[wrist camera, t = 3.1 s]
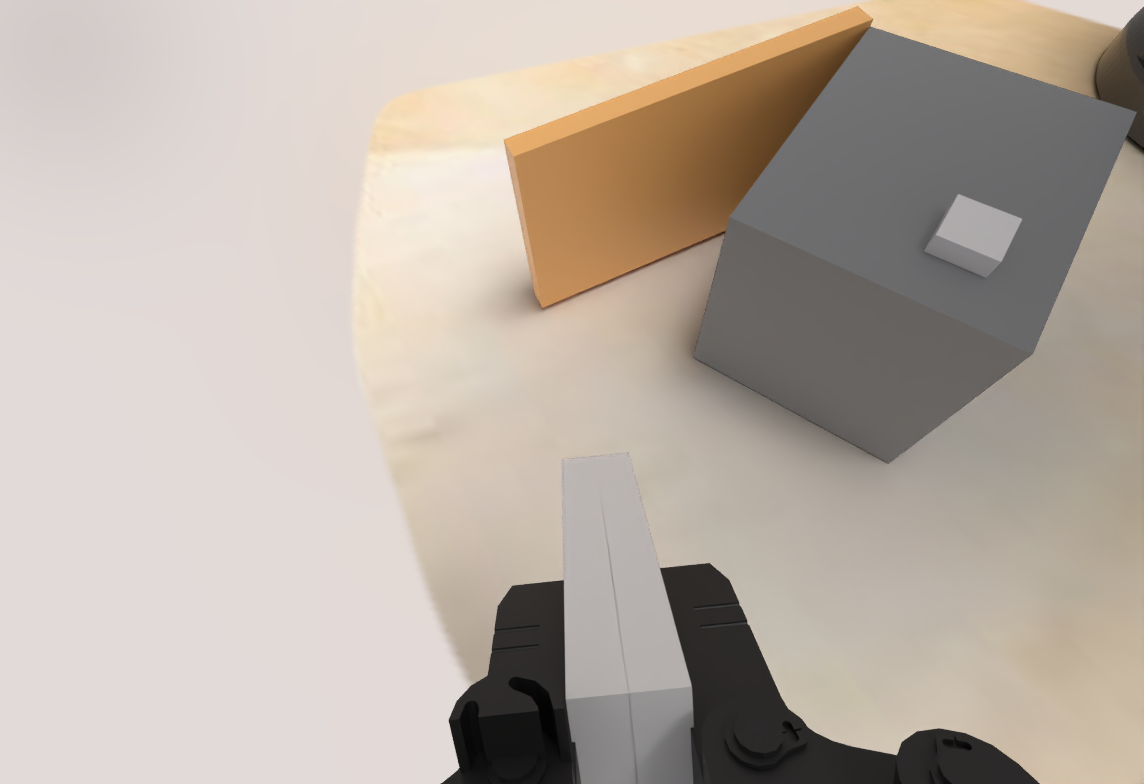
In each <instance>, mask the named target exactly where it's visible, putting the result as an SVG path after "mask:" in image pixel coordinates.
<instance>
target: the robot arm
mask: <svg viewBox="0 0 1144 784" xmlns="http://www.w3.org/2000/svg"><path fill="white" fill-rule="evenodd" d="M1096 82H1097V89H1098V92H1099V95H1100V98H1101V101H1104V102H1107V103H1110V104H1114V105H1117V106H1120V107H1123V108H1126V109H1129V110H1132V111H1135V112H1137V113H1136V115H1135V118H1134V120H1133V122H1132V125H1131V127H1130V129H1129V132H1128V134H1127V135H1128V136H1129V137H1130V138H1131V139H1133V140H1134V141H1135V142H1136V143H1138V144H1139V145H1140V146H1141V147H1143V148H1144V7H1143V8H1142V9H1141V10H1140V11H1139V12H1138V13H1137V14H1136V15H1135V16H1134V17H1133V18H1132V19H1131V20H1130V21H1129V22H1128V23H1127V25H1126V26H1125V27H1124V28H1123V30H1122V31H1121V32H1120V33H1119V35H1118V36H1117V37H1116V38H1115V40H1114V41H1113V42H1112V43H1111V45H1110V46H1109V47H1108V48H1107V50H1106V51H1105V52H1104V54H1103V55H1102V57H1101V59H1100V61H1099V64H1098V68H1097V74H1096ZM562 488H563V555H564V580H563V581H553V582H543V583H534V584H524V585H515V586H512V587H511V588H510V590H509V591H508V593H507V594H506V596H505V597H504V598H503V600H502V601H501V603H500V604H499V606H498V609H497V616H496V623H495V634H494V637H493V644H492V654H491V657H490V664H489V671H488V676H487V677H485V678H483V679H482V680H480V681H478V682H476V683H475V684H473V685H471V686H470V687H469V689H468V690H467V691H466V692H465V693H464V694H463V695H462V696H461V697H460V698H459V699H458V700H457V702H456V704H455V707H454V709H453V711H452V713H451V716H450V718H449V724H450V728H451V732H452V737H453V741H454V745H455V750H456V754H457V759H458V763H459V767H460V768H459V769H458V771H456V772H455V773H454V774H453V775H451V776H450V777H449V778H448V779H447V780H445V781H444V782H443V783H441V784H1040V783H1038V782H1037V781H1036V780H1035V779H1034V778H1033V777H1032V776H1031V775H1030V774H1029V773H1028V772H1026V771H1025V770H1024V769H1023V768H1022V767H1021V766H1020V765H1019V764H1018V763H1016V762H1015V761H1013V760H1012V759H1011V758H1009V757H1008V756H1007V755H1005V754H1004V753H1002V752H1001V751H1000V750H998V749H997V748H996V747H994V746H993V745H991V744H989V743H986V742H984V741H982V740H979V739H977V738H975V737H973V736H970V735H968V734H966V733H961V732H956V731H950V730H944V729H932V730H925V731H917V732H916V733H914V734H913V735H911V736H910V737H908V738H907V739H906V740H904V741H903V742H902V743H901V746H900V749H899V752H898V754H897V755H893V754H887V753H882V752H877V751H872V750H867V749H861V748H856V747H851V746H848V745H844V744H841V743H837V742H834V741H831V740H829V739H827V738H825V737H823V736H821V735H819V734H817V733H815V732H814V731H812V730H811V729H809V728H808V727H807V726H806V724H805V723H804V721H803V720H802V719H801V718H800V717H798V716H797V715H796V714H794V713H793V712H792V711H790V710H789V709H788V708H787V706H786V705H785V703H784V701H783V700H782V698H781V696H780V694H779V692H778V689H777V687H776V685H775V682H774V680H773V678H772V676H771V673H770V671H769V669H768V667H767V664H766V662H765V660H764V658H763V655H762V653H761V651H760V649H759V646H758V644H757V642H756V639H755V637H754V635H753V633H752V630H751V628H750V626H749V625H748V624H747V619H746V617H745V615H744V612H743V610H742V608H741V606H739V601H738V599H737V597H736V594H735V592H734V590H733V587H732V585H731V583H730V581H729V580H728V579H727V578H726V577H725V576H724V575H723V574H721V573H720V572H719V571H718V570H717V569H716V568H715V567H713V566H712V565H711V564H710V563H706V564H697V565H687V566H678V567H668V568H660V567H659V564H658V560H657V556H656V552H655V549H654V545H653V541H652V538H651V534H650V530H649V527H648V523H647V519H646V516H645V512H644V508H643V504H642V501H641V497H640V493H639V490H638V486H637V482H636V479H635V475H634V471H633V468H632V464H631V460H630V456H629V453H619V454H610V455H601V456H591V457H582V458H573V459H563V460H562Z"/></svg>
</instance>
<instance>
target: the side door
mask: <svg viewBox="0 0 1144 784" xmlns="http://www.w3.org/2000/svg"><path fill="white" fill-rule="evenodd" d="M872 21H873V19H872V18H871V17H870V16H869V15H867V14H866V13H865V12H864V11H863V10H862V9H860V8H859V7H858V6H857V7H854V8H852V9H849V10H847V11H844V12H841V13H839V14H836V15H833V16H831V17H828V18H825V19H823V20H820V21H817V22H815V23H812V24H809V25H807V26H804V27H801V28H799V29H796V30H793V31H791V32H788V33H786V34H783V35H780V36H778V37H775V38H772V39H770V40H767V41H764V42H762V43H759V44H756V45H754V46H751V47H748V48H746V49H743V50H740V51H738V52H735V53H733V54H730V55H727V56H725V57H722V58H719V59H717V60H714V61H711V62H709V63H706V64H703V65H701V66H698V67H695V68H693V69H690V70H687V71H685V72H682V73H679V74H677V75H674V76H672V77H669V78H666V79H664V80H661V81H658V82H656V83H653V84H650V85H648V86H645V87H642V88H640V89H637V90H634V91H632V92H629V93H626V94H624V95H621V96H619V97H616V98H613V99H611V100H608V101H605V102H603V103H600V104H597V105H595V106H592V107H589V108H587V109H584V110H581V111H579V112H576V113H573V114H571V115H568V116H565V117H563V118H560V119H558V120H555V121H552V122H550V123H547V124H544V125H542V126H539V127H536V128H534V129H531V130H528V131H526V132H523V133H520V134H518V135H515V136H512V137H510V138H507V139H505V140H504V144H505V149H506V154H507V159H508V164H509V169H510V174H511V179H512V184H513V189H514V194H515V199H516V204H517V209H518V214H519V218H520V223H521V228H522V233H523V238H524V243H525V248H526V253H527V258H528V263H529V268H530V273H531V278H532V283H533V288H534V293H535V295H536V297H537V299H538V301H539V303H540V305H541V307H542V308H544V307H546V306H549V305H551V304H553V303H556V302H558V301H560V300H563V299H565V298H567V297H570V296H572V295H575V294H577V293H579V292H582V291H584V290H586V289H589V288H591V287H593V286H596V285H598V284H601V283H603V282H605V281H608V280H610V279H612V278H615V277H617V276H619V275H622V274H624V273H627V272H629V271H631V270H634V269H636V268H638V267H641V266H643V265H645V264H648V263H650V262H652V261H655V260H657V259H660V258H662V257H664V256H667V255H669V254H671V253H674V252H676V251H678V250H681V249H683V248H686V247H688V246H690V245H693V244H695V243H697V242H700V241H702V240H704V239H707V238H709V237H712V236H714V235H716V234H719V233H721V232H723V231H726V228H727V224H728V221H729V217H730V216H731V214H732V213H733V211H734V210H735V209H736V207H737V206H738V205H739V203H740V202H741V201H742V199H743V198H744V197H745V195H746V194H747V192H748V191H749V190H750V188H751V187H752V186H753V184H754V183H755V182H756V180H757V179H758V178H759V176H760V175H761V174H762V172H763V171H764V169H765V168H766V167H767V165H768V164H769V163H770V161H771V160H772V159H773V157H774V156H775V155H776V153H777V152H778V151H779V149H780V148H781V146H782V145H783V144H784V142H785V141H786V140H787V138H788V137H789V136H790V134H791V133H792V132H793V130H794V129H795V128H796V126H797V125H798V123H799V122H800V121H801V119H802V118H803V117H804V115H805V114H806V113H807V111H808V110H809V109H810V107H811V106H812V105H813V103H814V102H815V100H816V99H817V98H818V96H819V95H820V94H821V92H822V91H823V90H824V88H825V87H826V86H827V84H828V83H829V82H830V80H831V79H832V77H833V76H834V75H835V73H836V72H837V71H838V69H839V68H840V67H841V65H842V64H843V63H844V61H845V60H846V59H847V57H848V56H849V54H850V53H851V52H852V50H853V49H854V48H855V46H856V45H857V44H858V42H859V41H860V40H861V38H862V37H863V35H864V34H865V33H866V31H867V30H868V29H869V27H870V26H871V23H872Z"/></svg>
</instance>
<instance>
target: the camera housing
mask: <svg viewBox="0 0 1144 784" xmlns="http://www.w3.org/2000/svg"><path fill="white" fill-rule="evenodd" d="M1136 113H1137V112H1135V111H1132V110H1129V109H1126V108H1123V107H1120V106H1117V105H1114V104H1110V103H1107V102H1104V101H1101V100H1098V99H1095V98H1092V97H1089V96H1085V95H1082V94H1079V93H1076V92H1073V91H1070V90H1067V89H1064V88H1060V87H1057V86H1054V85H1051V84H1048V83H1045V82H1042V81H1039V80H1035V79H1032V78H1029V77H1026V76H1023V75H1020V74H1017V73H1014V72H1010V71H1007V70H1004V69H1001V68H998V67H995V66H992V65H989V64H986V63H982V62H979V61H976V60H973V59H970V58H967V57H964V56H961V55H957V54H954V53H951V52H948V51H945V50H942V49H939V48H936V47H932V46H929V45H926V44H923V43H920V42H917V41H914V40H911V39H907V38H904V37H901V36H898V35H895V34H892V33H889V32H886V31H882V30H879V29H876V28H873V27H869V29H868V30H867V31H866V33H865V34H864V35H863V37H862V38H861V40H860V41H859V42H858V44H857V45H856V46H855V48H854V49H853V50H852V52H851V53H850V54H849V56H848V57H847V59H846V60H845V61H844V63H843V64H842V65H841V67H840V68H839V69H838V71H837V72H836V73H835V75H834V76H833V77H832V79H831V80H830V82H829V83H828V84H827V86H826V87H825V88H824V90H823V91H822V92H821V94H820V95H819V96H818V98H817V99H816V100H815V102H814V103H813V105H812V106H811V107H810V109H809V110H808V111H807V113H806V114H805V115H804V117H803V118H802V119H801V121H800V122H799V123H798V125H797V126H796V128H795V129H794V130H793V132H792V133H791V134H790V136H789V137H788V138H787V140H786V141H785V142H784V144H783V145H782V146H781V148H780V149H779V151H778V152H777V153H776V155H775V156H774V157H773V159H772V160H771V161H770V163H769V164H768V165H767V167H766V168H765V169H764V171H763V172H762V174H761V175H760V176H759V178H758V179H757V180H756V182H755V183H754V184H753V186H752V187H751V188H750V190H749V191H748V192H747V194H746V195H745V197H744V198H743V199H742V201H741V202H740V203H739V205H738V206H737V207H736V209H735V210H734V211H733V213H732V214H731V216H730V217H729V221H728V224H727V228H726V232H725V236H724V240H723V244H722V248H721V252H720V256H719V259H718V263H717V267H716V271H715V275H714V279H713V283H712V287H711V291H710V294H709V298H708V302H707V306H706V310H705V314H704V318H703V322H702V325H701V329H700V333H699V337H698V341H697V345H696V349H695V353H694V357H693V358H695V359H697V360H699V361H700V362H702V363H704V364H706V365H708V366H710V367H712V368H713V369H715V370H717V371H719V372H721V373H723V374H724V375H726V376H728V377H730V378H732V379H734V380H735V381H737V382H739V383H741V384H743V385H745V386H747V387H748V388H750V389H752V390H754V391H756V392H758V393H759V394H761V395H763V396H765V397H767V398H769V399H770V400H772V401H774V402H776V403H778V404H780V405H782V406H783V407H785V408H787V409H789V410H791V411H793V412H794V413H796V414H798V415H800V416H802V417H804V418H806V419H807V420H809V421H811V422H813V423H815V424H817V425H818V426H820V427H822V428H824V429H826V430H828V431H829V432H831V433H833V434H835V435H837V436H839V437H841V438H842V439H844V440H846V441H848V442H850V443H852V444H853V445H855V446H857V447H859V448H861V449H863V450H865V451H866V452H868V453H870V454H872V455H874V456H876V457H877V458H879V459H881V460H883V461H885V462H887V463H888V464H889V463H890V462H891V461H893V460H894V459H895V458H897V457H898V456H899V455H901V454H902V453H903V452H905V451H906V450H907V449H908V448H910V447H911V446H912V445H914V444H915V443H916V442H918V441H919V440H920V439H922V438H923V437H924V436H926V435H927V434H928V433H929V432H931V431H932V430H933V429H935V428H936V427H937V426H939V425H940V424H941V423H943V422H944V421H945V420H947V419H948V418H949V417H950V416H952V415H953V414H954V413H956V412H957V411H958V410H960V409H961V408H962V407H964V406H965V405H966V404H968V403H969V402H970V401H972V400H973V399H974V398H975V397H977V396H978V395H979V394H981V393H982V392H983V391H985V390H986V389H987V388H989V387H990V386H991V385H993V384H994V383H995V382H996V381H998V380H999V379H1000V378H1002V377H1003V376H1004V375H1006V374H1007V373H1008V372H1010V371H1011V370H1012V369H1014V368H1015V367H1016V366H1017V365H1019V364H1020V363H1021V362H1023V361H1024V360H1025V359H1027V358H1028V357H1029V356H1031V355H1032V354H1033V352H1034V349H1035V347H1036V345H1037V342H1038V340H1039V338H1040V336H1041V333H1042V331H1043V329H1044V326H1045V324H1046V322H1047V319H1048V317H1049V315H1050V312H1051V310H1052V308H1053V305H1054V303H1055V301H1056V298H1057V296H1058V294H1059V291H1060V289H1061V287H1062V285H1063V282H1064V280H1065V278H1066V275H1067V273H1068V271H1069V268H1070V266H1071V264H1072V261H1073V259H1074V257H1075V254H1076V252H1077V250H1078V247H1079V245H1080V243H1081V240H1082V238H1083V236H1084V234H1085V231H1086V229H1087V227H1088V224H1089V222H1090V220H1091V217H1092V215H1093V213H1094V210H1095V208H1096V206H1097V203H1098V201H1099V199H1100V196H1101V194H1102V192H1103V190H1104V187H1105V185H1106V183H1107V180H1108V178H1109V176H1110V173H1111V171H1112V169H1113V166H1114V164H1115V162H1116V159H1117V157H1118V155H1119V152H1120V150H1121V148H1122V145H1123V143H1124V141H1125V139H1126V136H1127V134H1128V132H1129V129H1130V127H1131V125H1132V122H1133V120H1134V118H1135V115H1136Z"/></svg>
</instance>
